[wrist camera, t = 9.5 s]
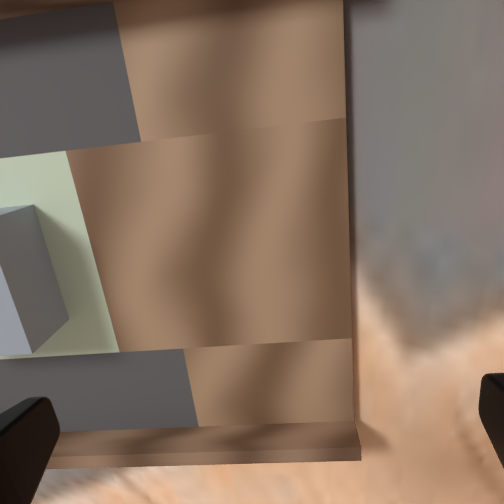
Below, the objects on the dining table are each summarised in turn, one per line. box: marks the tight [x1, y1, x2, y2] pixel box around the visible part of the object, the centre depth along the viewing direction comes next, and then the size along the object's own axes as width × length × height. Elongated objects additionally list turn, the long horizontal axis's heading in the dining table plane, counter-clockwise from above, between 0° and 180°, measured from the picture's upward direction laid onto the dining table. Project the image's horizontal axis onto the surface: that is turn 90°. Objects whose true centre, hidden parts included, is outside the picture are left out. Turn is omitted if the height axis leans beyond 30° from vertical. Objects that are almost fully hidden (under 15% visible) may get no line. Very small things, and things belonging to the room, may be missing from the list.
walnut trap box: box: [0, 0, 361, 469], centre depth 20 cm, size 26×26×2 cm
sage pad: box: [0, 151, 119, 359], centre depth 21 cm, size 11×12×1 cm
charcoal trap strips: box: [0, 2, 199, 432], centre depth 21 cm, size 15×24×1 cm, turn 6°
